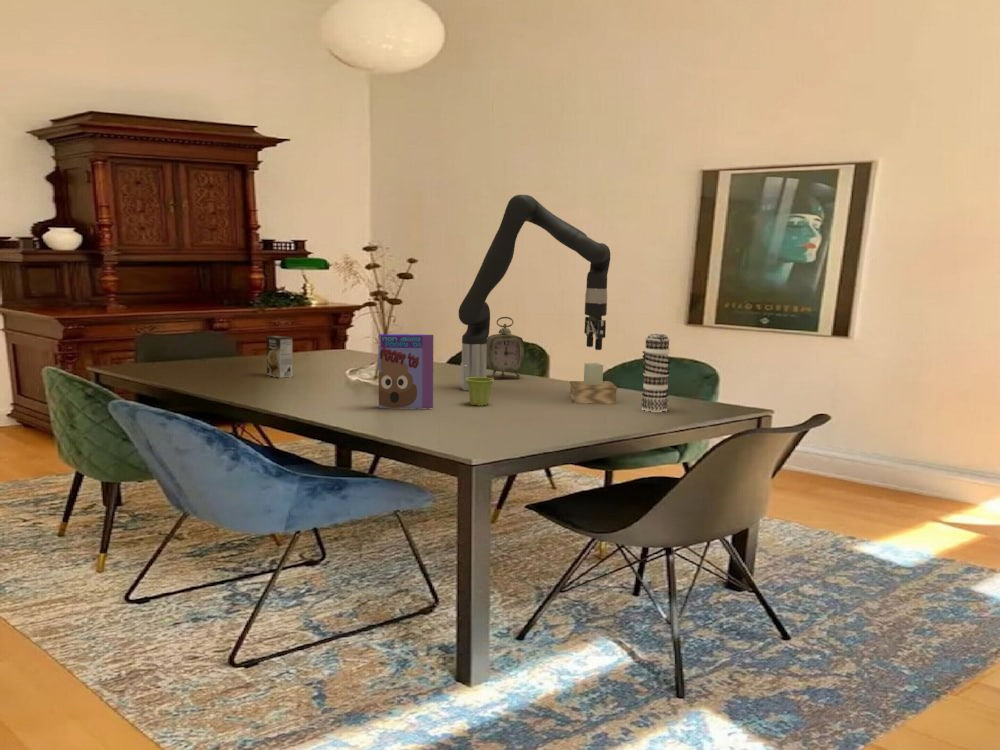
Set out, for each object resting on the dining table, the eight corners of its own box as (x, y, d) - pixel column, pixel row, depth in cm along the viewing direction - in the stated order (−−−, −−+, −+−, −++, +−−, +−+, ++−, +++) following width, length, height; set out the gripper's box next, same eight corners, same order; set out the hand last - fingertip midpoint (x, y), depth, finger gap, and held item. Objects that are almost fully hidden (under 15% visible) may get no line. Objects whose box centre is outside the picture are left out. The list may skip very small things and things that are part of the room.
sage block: (588, 385, 295) (589, 365, 294) (583, 383, 300) (584, 363, 299) (602, 385, 297) (603, 365, 296) (597, 382, 302) (597, 363, 300)
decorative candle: (636, 407, 286) (639, 333, 282) (662, 407, 288) (665, 333, 284) (646, 412, 277) (649, 336, 274) (673, 412, 279) (676, 335, 276)
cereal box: (378, 409, 276) (378, 335, 273) (379, 406, 281) (379, 333, 278) (432, 409, 277) (433, 335, 274) (433, 406, 282) (433, 334, 279)
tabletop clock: (488, 380, 341) (489, 317, 337) (484, 377, 349) (484, 315, 346) (524, 379, 344) (525, 317, 340) (518, 376, 353) (519, 315, 349)
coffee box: (266, 376, 342) (265, 336, 339) (279, 374, 347) (279, 335, 344) (280, 378, 336) (279, 337, 334) (293, 377, 341) (292, 336, 338)
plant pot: (486, 401, 293) (486, 376, 292) (498, 406, 285) (498, 380, 284) (461, 403, 289) (461, 377, 288) (472, 407, 281) (472, 381, 280)
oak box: (574, 404, 292) (575, 387, 291) (569, 397, 306) (570, 381, 305) (616, 405, 292) (617, 387, 292) (609, 397, 307) (610, 381, 306)
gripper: (578, 300, 300) (576, 345, 303) (593, 303, 286) (590, 351, 289) (598, 300, 302) (596, 345, 304) (613, 303, 288) (611, 350, 291)
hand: (594, 348), depth 297 cm, fingers open, 8 cm apart
